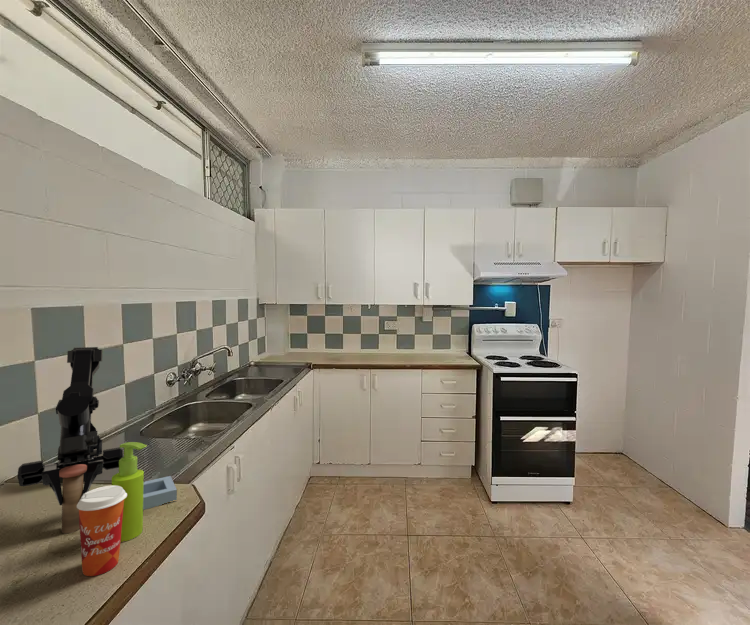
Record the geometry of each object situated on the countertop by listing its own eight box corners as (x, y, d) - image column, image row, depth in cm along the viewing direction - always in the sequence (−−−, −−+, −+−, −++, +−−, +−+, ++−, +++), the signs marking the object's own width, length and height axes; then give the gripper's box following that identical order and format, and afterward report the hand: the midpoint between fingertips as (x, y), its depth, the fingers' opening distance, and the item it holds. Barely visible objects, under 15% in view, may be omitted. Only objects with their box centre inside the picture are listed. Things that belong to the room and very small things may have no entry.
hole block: (127, 496, 97) (127, 485, 98) (170, 486, 104) (170, 475, 104) (130, 513, 90) (130, 500, 90) (176, 501, 96) (176, 489, 96)
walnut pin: (58, 527, 83) (60, 467, 83) (85, 520, 86) (87, 462, 86) (57, 537, 79) (58, 474, 80) (85, 530, 82) (86, 469, 83)
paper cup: (70, 585, 66) (71, 507, 66) (80, 560, 72) (82, 488, 73) (123, 572, 69) (124, 497, 69) (128, 549, 76) (129, 481, 76)
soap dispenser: (130, 544, 77) (132, 449, 78) (103, 540, 79) (105, 446, 79) (152, 529, 83) (154, 440, 83) (127, 525, 85) (128, 437, 85)
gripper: (19, 427, 80) (9, 498, 72) (123, 414, 92) (125, 474, 83) (24, 452, 87) (15, 521, 78) (120, 437, 98) (122, 495, 89)
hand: (72, 501), depth 82 cm, fingers closed on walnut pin, 4 cm apart
